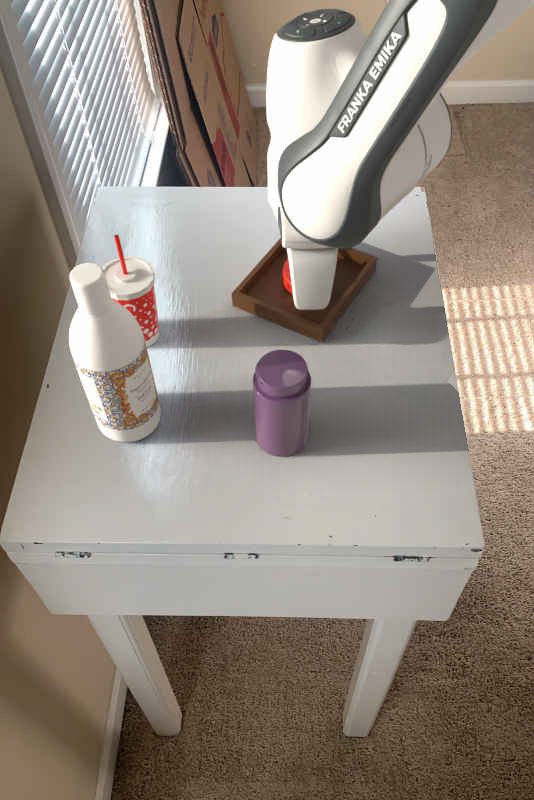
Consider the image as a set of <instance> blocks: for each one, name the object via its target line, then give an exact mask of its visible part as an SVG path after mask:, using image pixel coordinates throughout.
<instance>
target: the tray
mask: <svg viewBox="0 0 534 800" xmlns="http://www.w3.org/2000/svg"><path fill="white" fill-rule="evenodd" d="M287 259H288V253H287V248H284V247H283V246H282V239H281V237H280V238H279V239H278V240H277V241H276V242H275V243H274V244H273V245H272V247H271V248H270V249H269V250H268V252H267V253H266V254H265V255H264V256H263V257H262V258H261V259H260V261H259V262H258V263H257V264H256V265H255V266H254V267H253V268H252V269H251V270H250V272H249V273H248V274H247V275H246V276H245V277H244V278H243V279H242V281H241V282H240V283H239V285H238V286H236V288H234V290H233V291H232V292H231V304H232V305H231V306H232V307H235V308H236V309H240V310H242V311H244V312H247V313H249V314H252V315H254V316H256V317H258V318H262V319H264V320H266V321H268V322H271V323H273V324H275V325H278V326H281V327H283V328H286V329H289V330H290V331H293V332H295V333H297V334H299V335H303V336H304V337H307V338H310V339H312V340H314V341H316V342H319V343H320V344H321V343H323V342H324V341H325V339H326V338H327V337H328V335H330V333H331V332H332V330H333V328H334V327H335V326H336V325H337V323H338V322H339V321H340V319H341V318H342V316H343V315H344V313H346V311H347V310H348V308H350V306H351V304H352V303H353V301H354V300H355V299H356V298H357V296H358V295H359V293H360V292H361V291H362V290H363V288H364V287H365V286H366V284H367V283H368V282H369V280H370V279H371V277H372V276H373V275H374V273H375V272H376V270H377V265H378V257H377V256H374V255H372V254H369V253H366V252H364V251H361V250H358V249H355V248H354V247H352V248H346V249H341V248H338V253H337V263H336V269H335V275H334V281H333V287H332V292H331V297H330V301H329V304H328V305H327V307H326V308H324V309H320V310H298V309H297V308H296V307H295V304H294V299H293V294H291V293H290V292H289V291H287V289H286V288H285V286H284V284H283V267H284V264H285V262H286V260H287Z"/></svg>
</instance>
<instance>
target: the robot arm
mask: <svg viewBox="0 0 534 800" xmlns="http://www.w3.org/2000/svg"><path fill="white" fill-rule="evenodd" d="M533 7H534V0H388V2H387V4H386V5H385V7H384V9H383V10H382V12H381V14H380V15H379V17H378V19H377V21H376V22H375V25H374V26H373V28H372V30H371V32H370V33H369V35H367V33H366V31H365V30H364V28H363V26H362V23H361V22H360V20H359V19H358V17H357V16H356V15H354V14H352V13H351V12H349V11H345V10H343V9H338V8H320V9H315V10H311V11H307V12H304V13H301V14H299V15H297V16H295V17H293V18H292V19H290V20H289V21H287V22H286V23H284V24H283V25H282V26H280V27H279V29H278V30H277V31H276V32H275V33H274V35H273V38H272V41H271V44H270V47H269V53H268V61H267V68H266V69H267V70H266V89H265V90H266V91H265V93H266V94H265V98H266V99H265V100H266V101H265V103H266V105H265V106H266V107H265V111H266V122H267V126H268V129H269V133H270V142H269V145H268V149H267V155H266V156H267V159H266V163H267V167H266V168H267V171H266V172H267V200H268V201H267V202H268V204H269V206H270V207H271V208H272V211H273V214H274V217H275V218H276V221H277V226H278V229H279V235H280V238H281V239H282V246H283V247H284V248H287V253H288V260H289V267H290V276H291V284H292V292H293V299H294V304H295V307H296V308H297V309H298V310H320V309H324V308H326V307H327V305H328V304H329V301H330V297H331V292H332V287H333V281H334V275H335V269H336V263H337V253H338V248H341V249H346V248H355V247H357V246H359V245H360V244H361V243H362V242H363V241H364V240H365V239H366V238H368V235H369V234H370V233H371V232H372V231H373V230H374V229H375V228H376V227H377V225H378V224H379V223H380V221H381V220H383V218H384V217H385V216H387V214H388V213H390V212H391V211H392V210H393V209H394V208H395V207H396V206H397V205H398V204H399V203H401V201H402V200H404V199H405V198H406V197H407V196H408V195H409V194H410V193H411V192H413V190H415V188H416V187H418V185H419V184H420V183H422V181H423V180H425V179H426V178H427V177H428V176H429V175H430V174H431V173H432V172H433V171H434V170H435V169H436V168H437V167H438V166H440V164H441V163H442V161H443V160H444V159H445V158H446V157H447V154H448V153H449V149H450V148H451V143H452V136H453V125H452V118H451V113H450V110H449V106H448V104H447V101H446V100H445V99H446V98H444V96H443V94H442V93H441V92H442V91H443V89H444V88H445V87H446V85H447V84H448V83H449V82H450V80H451V79H452V78H453V77H454V76H455V75H456V74H457V73H458V71H460V69H461V68H463V66H464V65H465V64H466V63H467V62H468V61H469V60H470V59H472V57H473V56H475V54H477V53H478V52H479V51H480V50H481V49H482V48H483V47H485V46H486V45H487V44H488V43H489V42H491V41H492V40H493V39H494V38H495V37H496V36H498V35H499V34H500V33H501V32H502V31H504V30H505V29H506V28H507V27H509V26H510V25H511V24H513V23H514V22H515V21H516V20H518V19H519V18H520V17H522V16H523V15H524V14H525V13H527V12H528V11H529V10H530V9H531V8H533Z"/></svg>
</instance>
